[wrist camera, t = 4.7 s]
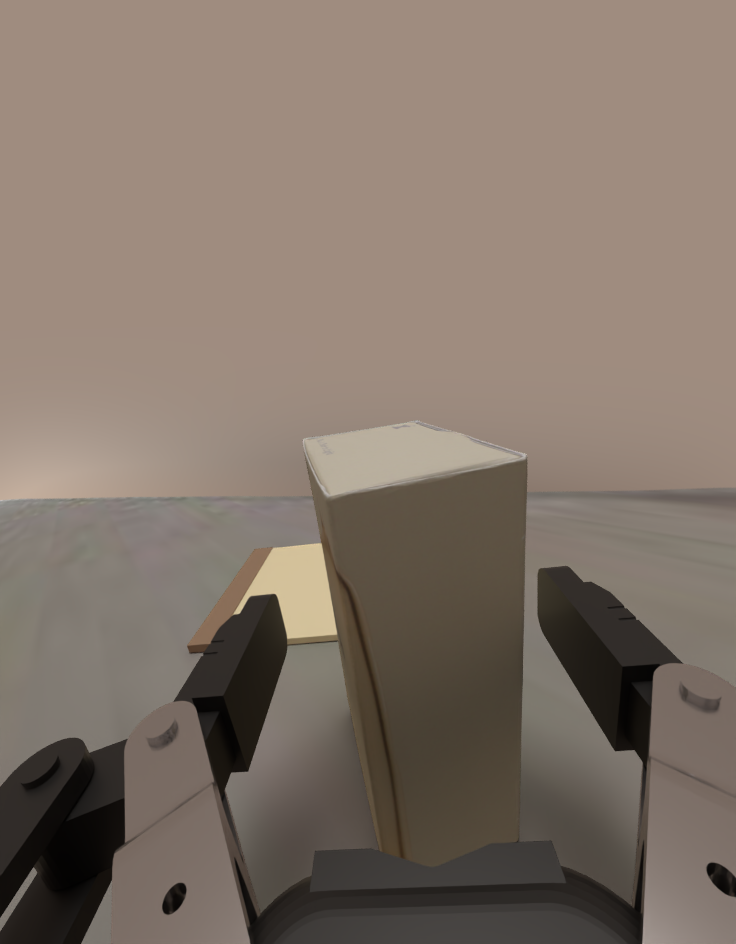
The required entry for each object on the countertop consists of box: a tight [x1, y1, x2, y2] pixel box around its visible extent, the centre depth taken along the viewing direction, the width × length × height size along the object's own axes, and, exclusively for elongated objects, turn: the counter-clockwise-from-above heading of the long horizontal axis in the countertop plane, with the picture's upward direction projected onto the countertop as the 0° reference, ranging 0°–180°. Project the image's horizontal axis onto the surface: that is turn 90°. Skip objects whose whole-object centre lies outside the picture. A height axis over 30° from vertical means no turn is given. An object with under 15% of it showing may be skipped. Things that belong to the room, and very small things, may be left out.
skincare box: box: [303, 420, 527, 867], centre depth 11 cm, size 6×4×12 cm
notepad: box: [187, 543, 338, 653], centre depth 25 cm, size 14×11×1 cm
